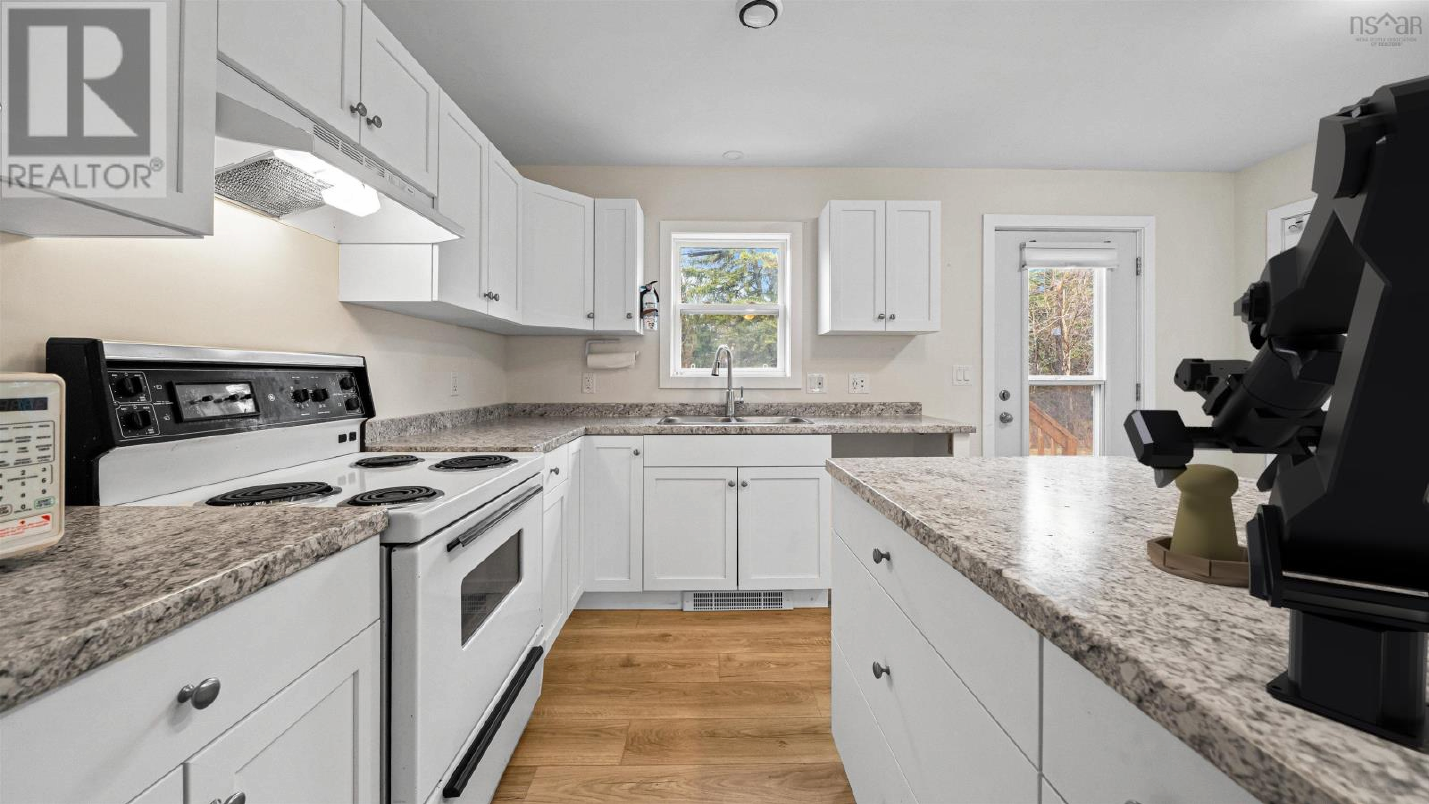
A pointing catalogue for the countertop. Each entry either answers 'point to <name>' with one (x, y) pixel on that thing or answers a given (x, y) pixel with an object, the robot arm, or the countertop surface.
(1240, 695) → the countertop surface
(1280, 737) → the countertop surface
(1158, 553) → the walnut coaster
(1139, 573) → the countertop surface
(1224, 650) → the countertop surface
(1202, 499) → the cork
